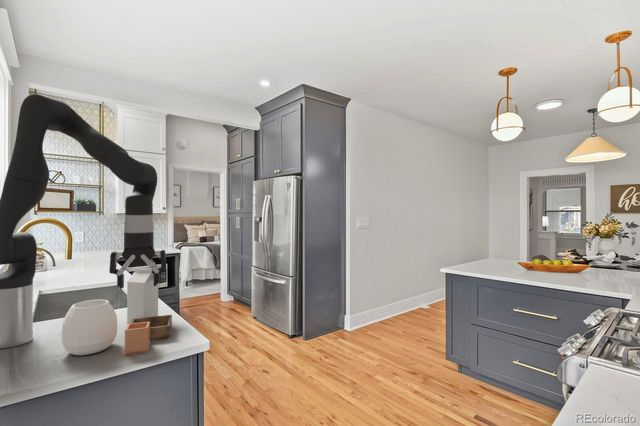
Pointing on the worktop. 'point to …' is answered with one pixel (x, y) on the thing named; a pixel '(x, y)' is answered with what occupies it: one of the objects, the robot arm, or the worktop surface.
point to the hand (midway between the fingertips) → (138, 286)
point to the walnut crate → (157, 326)
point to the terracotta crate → (137, 338)
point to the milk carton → (141, 295)
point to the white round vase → (89, 327)
